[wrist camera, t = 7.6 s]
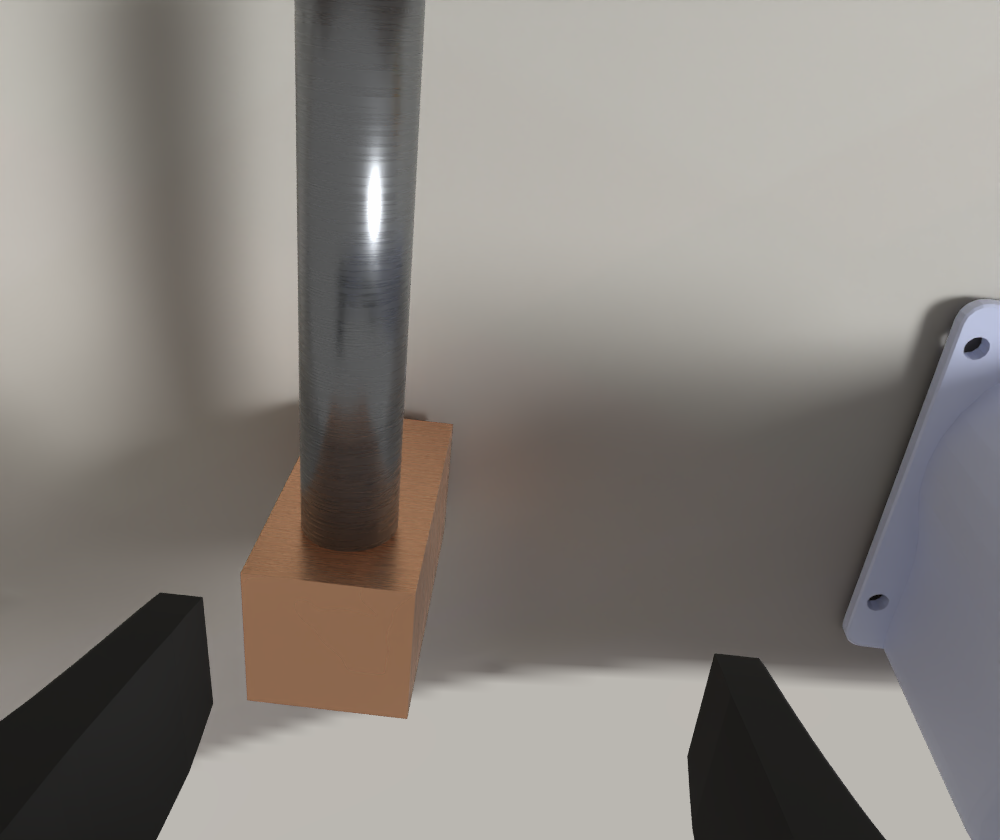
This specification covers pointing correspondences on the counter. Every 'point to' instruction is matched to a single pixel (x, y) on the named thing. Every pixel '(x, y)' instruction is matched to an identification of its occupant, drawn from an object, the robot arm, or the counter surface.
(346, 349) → the hook pin
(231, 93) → the counter surface
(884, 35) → the counter surface
